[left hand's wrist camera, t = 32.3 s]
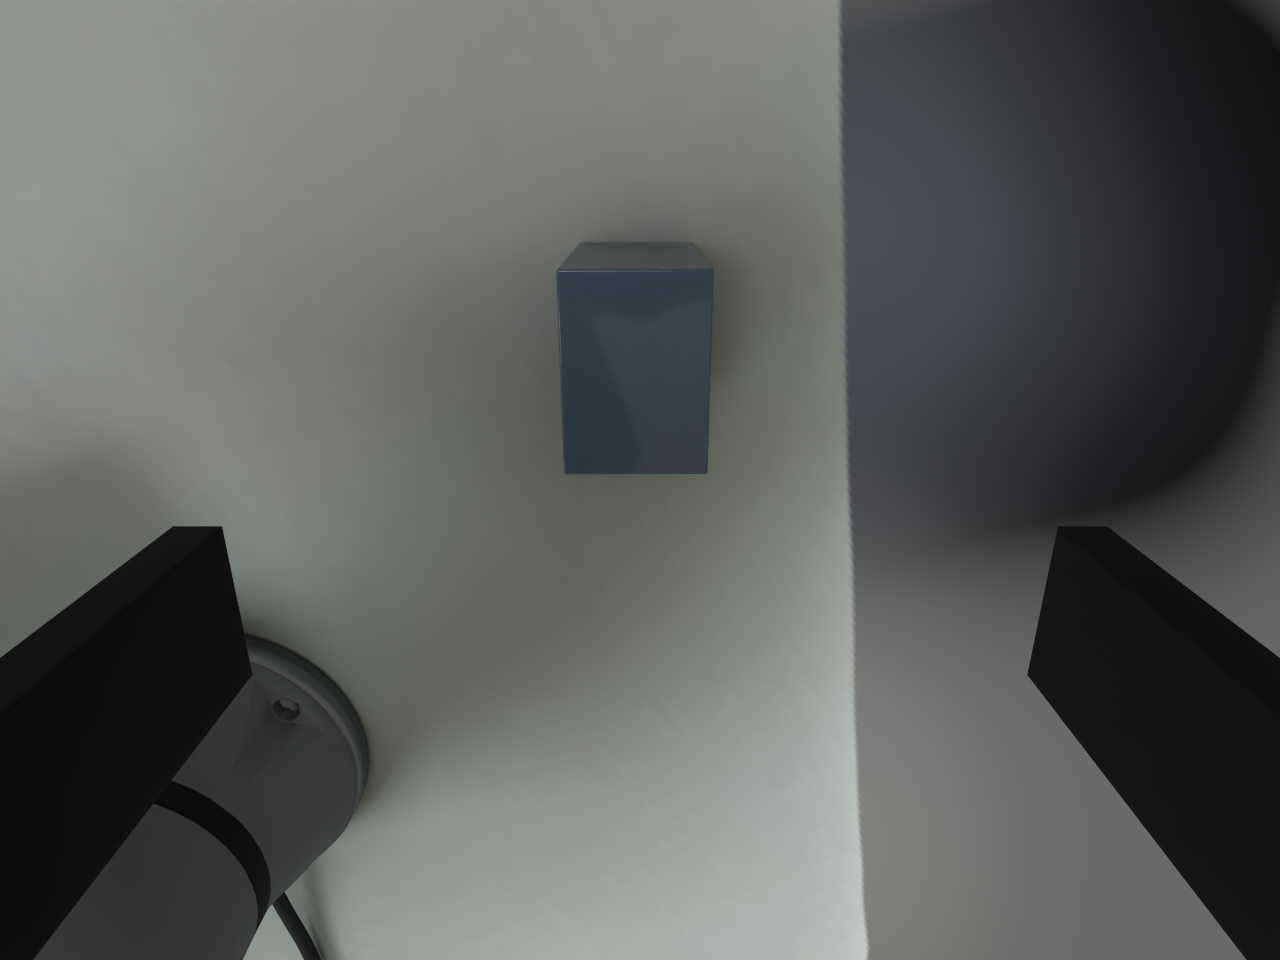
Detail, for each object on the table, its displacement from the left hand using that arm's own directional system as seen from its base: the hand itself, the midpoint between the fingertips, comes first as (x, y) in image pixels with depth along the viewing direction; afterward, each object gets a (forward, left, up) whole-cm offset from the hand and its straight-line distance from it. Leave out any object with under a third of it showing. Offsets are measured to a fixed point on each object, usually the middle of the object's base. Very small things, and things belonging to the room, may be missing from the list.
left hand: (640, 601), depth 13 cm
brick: (0, 0, -25) cm, 25 cm away
